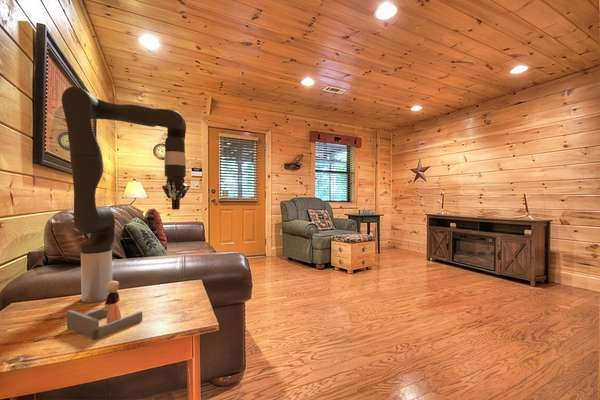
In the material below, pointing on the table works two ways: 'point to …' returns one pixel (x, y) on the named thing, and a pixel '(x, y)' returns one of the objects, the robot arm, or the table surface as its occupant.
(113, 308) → the grandmother figurine
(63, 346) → the table surface
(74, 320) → the charcoal bay
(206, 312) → the table surface
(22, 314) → the table surface
